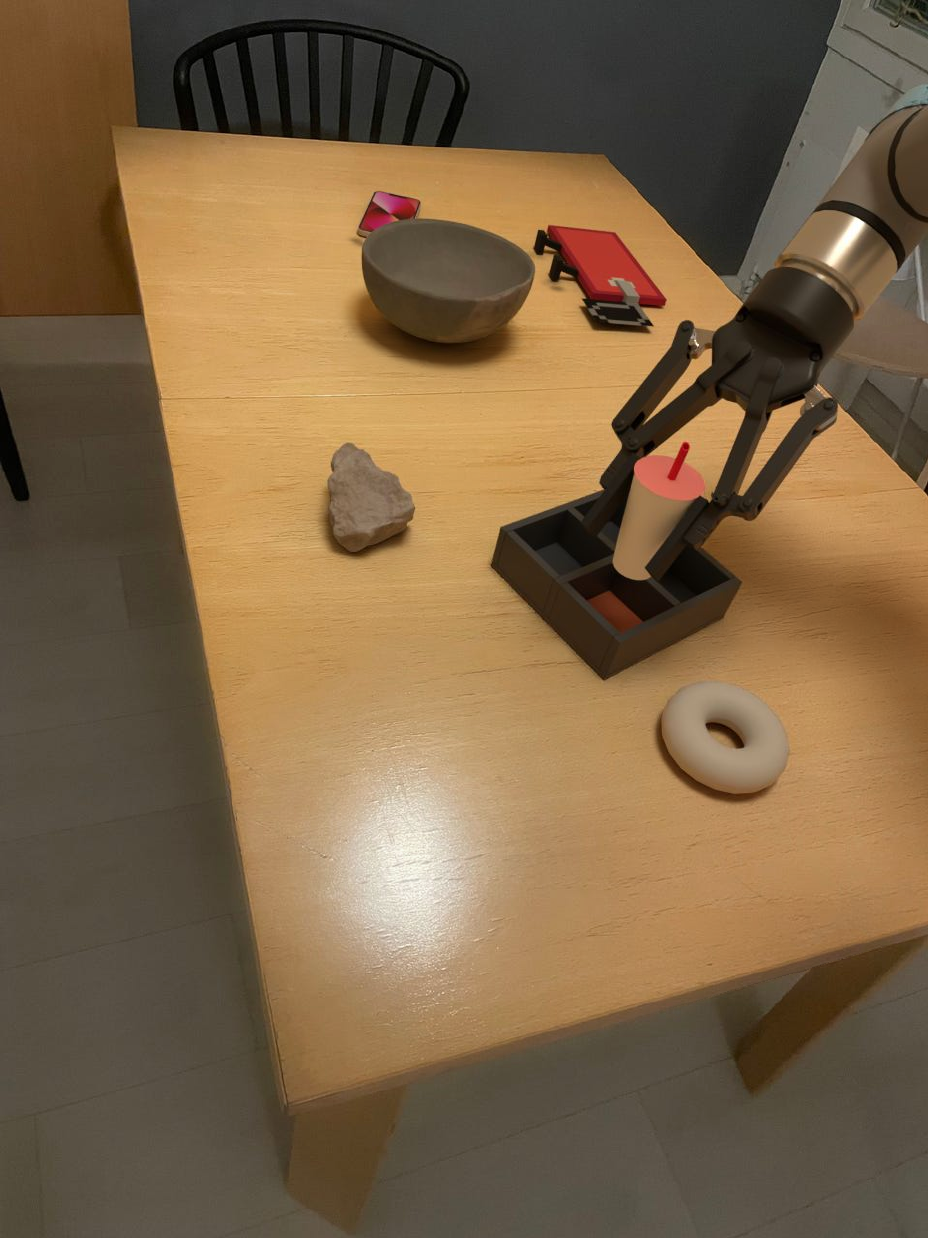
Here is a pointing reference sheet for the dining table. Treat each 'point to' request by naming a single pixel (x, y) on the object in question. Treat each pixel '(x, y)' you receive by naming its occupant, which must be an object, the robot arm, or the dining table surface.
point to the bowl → (445, 278)
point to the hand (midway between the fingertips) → (619, 551)
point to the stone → (365, 500)
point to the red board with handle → (602, 273)
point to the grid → (607, 587)
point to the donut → (715, 760)
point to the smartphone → (387, 211)
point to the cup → (654, 509)
